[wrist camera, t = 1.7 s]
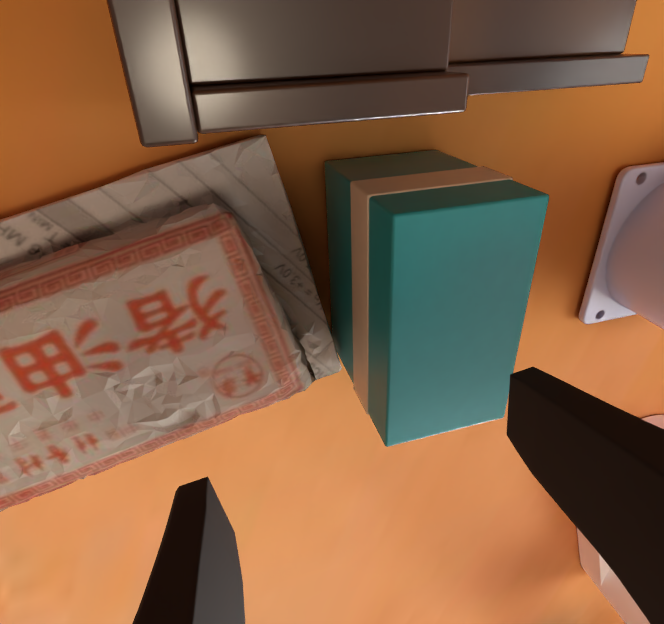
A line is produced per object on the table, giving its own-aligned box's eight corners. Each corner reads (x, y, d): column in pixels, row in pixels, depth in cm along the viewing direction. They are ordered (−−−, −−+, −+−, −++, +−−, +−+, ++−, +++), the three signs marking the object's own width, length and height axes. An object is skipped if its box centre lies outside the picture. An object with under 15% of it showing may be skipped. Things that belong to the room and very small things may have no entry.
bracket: (666, 539, 42) (740, 615, 36) (582, 584, 41) (645, 667, 36) (682, 395, 31) (793, 472, 25) (569, 454, 30) (655, 545, 25)
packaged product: (-137, 630, 15) (-516, 425, 10) (-69, 506, 19) (-309, 314, 14) (371, 422, 17) (291, 152, 11) (335, 349, 21) (263, 125, 15)
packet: (438, 147, 18) (553, 192, 12) (424, 326, 22) (505, 419, 16) (322, 159, 17) (391, 213, 11) (330, 344, 21) (384, 449, 15)
